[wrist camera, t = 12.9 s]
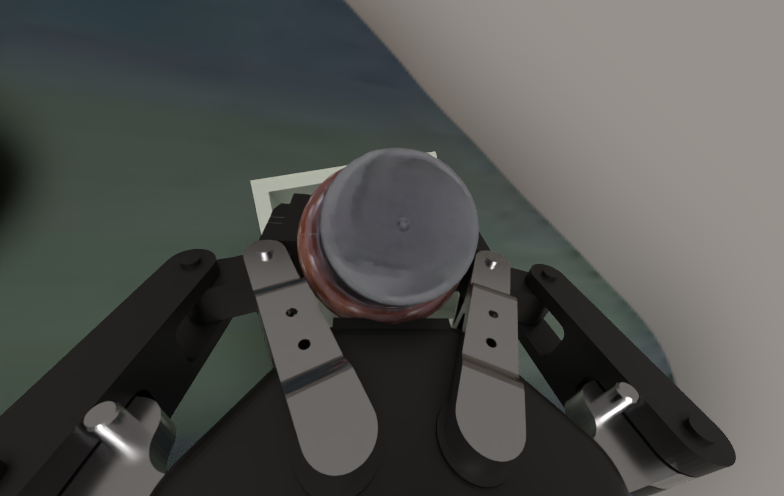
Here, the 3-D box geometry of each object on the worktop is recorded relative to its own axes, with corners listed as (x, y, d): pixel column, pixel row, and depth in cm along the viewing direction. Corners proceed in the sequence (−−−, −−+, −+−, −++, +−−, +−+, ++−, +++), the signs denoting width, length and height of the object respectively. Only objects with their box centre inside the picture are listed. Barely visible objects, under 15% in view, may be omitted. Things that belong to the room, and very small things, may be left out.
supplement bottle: (418, 301, 18) (539, 332, 7) (324, 316, 17) (285, 382, 6) (405, 211, 18) (496, 105, 7) (313, 220, 17) (258, 112, 6)
